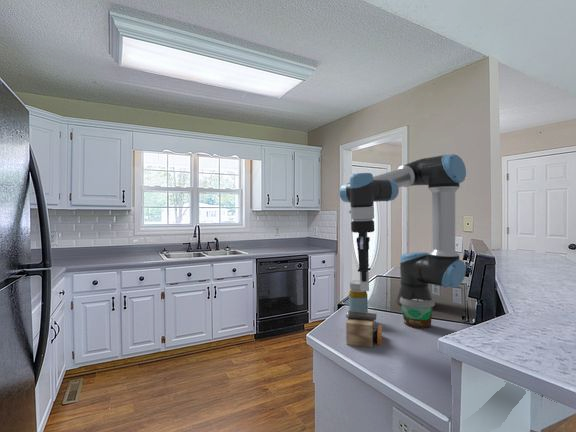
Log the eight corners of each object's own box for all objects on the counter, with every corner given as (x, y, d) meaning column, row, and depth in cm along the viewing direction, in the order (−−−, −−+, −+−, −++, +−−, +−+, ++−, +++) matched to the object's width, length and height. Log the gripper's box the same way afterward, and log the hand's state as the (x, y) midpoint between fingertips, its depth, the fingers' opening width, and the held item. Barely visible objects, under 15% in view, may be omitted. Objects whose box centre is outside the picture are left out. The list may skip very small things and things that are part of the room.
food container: (399, 327, 115) (399, 300, 115) (399, 321, 121) (399, 295, 121) (436, 331, 111) (436, 303, 111) (435, 325, 117) (434, 298, 117)
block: (374, 333, 111) (374, 313, 111) (372, 347, 99) (371, 325, 99) (351, 330, 113) (351, 311, 113) (346, 344, 102) (346, 322, 102)
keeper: (376, 316, 107) (376, 312, 107) (375, 321, 102) (375, 317, 102) (347, 313, 110) (347, 310, 110) (345, 317, 106) (345, 314, 106)
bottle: (368, 324, 119) (367, 284, 119) (349, 323, 121) (348, 284, 120) (367, 317, 126) (366, 280, 126) (349, 317, 127) (348, 280, 127)
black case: (382, 336, 108) (381, 325, 108) (381, 345, 101) (381, 333, 101) (348, 333, 111) (348, 322, 111) (346, 341, 104) (345, 329, 104)
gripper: (353, 219, 113) (355, 284, 113) (348, 221, 100) (350, 295, 101) (375, 218, 110) (377, 285, 111) (372, 221, 98) (375, 296, 99)
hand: (364, 290), depth 106 cm, fingers closed
